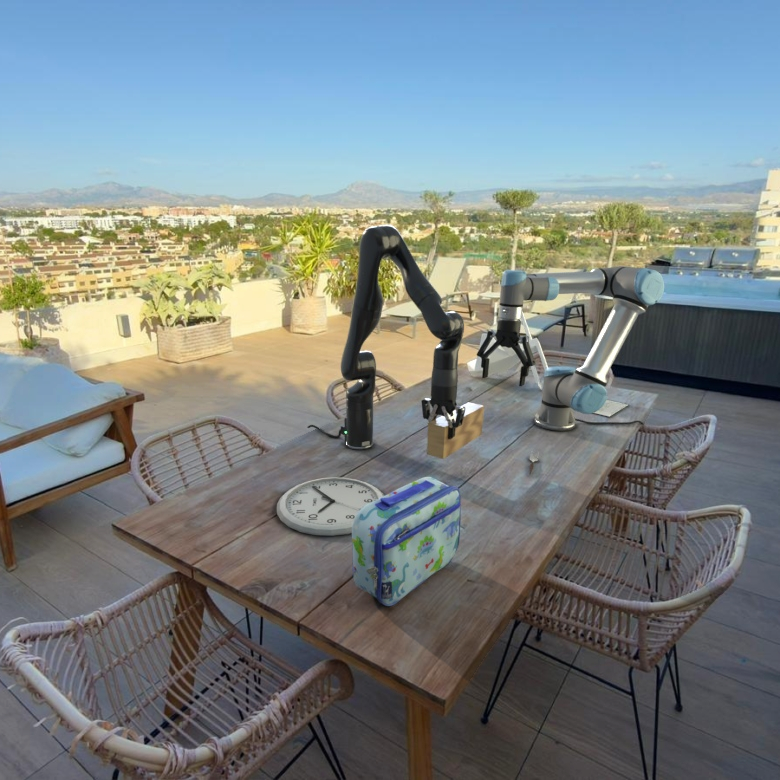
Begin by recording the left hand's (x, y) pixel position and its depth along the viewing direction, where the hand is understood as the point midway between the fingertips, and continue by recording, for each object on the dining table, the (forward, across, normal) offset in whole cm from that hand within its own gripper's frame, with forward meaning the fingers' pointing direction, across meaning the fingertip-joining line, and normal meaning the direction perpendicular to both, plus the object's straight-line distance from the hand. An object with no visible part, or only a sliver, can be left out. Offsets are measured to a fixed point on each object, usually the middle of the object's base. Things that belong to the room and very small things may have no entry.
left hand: (441, 435), depth 156 cm
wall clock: (+14, -14, -33) cm, 38 cm away
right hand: (-10, +3, +34) cm, 35 cm away
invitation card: (+14, +20, +101) cm, 104 cm away
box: (+6, 0, +9) cm, 11 cm away
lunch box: (+14, +20, -46) cm, 52 cm away
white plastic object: (+14, -28, +107) cm, 112 cm away
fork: (+14, +19, +26) cm, 35 cm away
